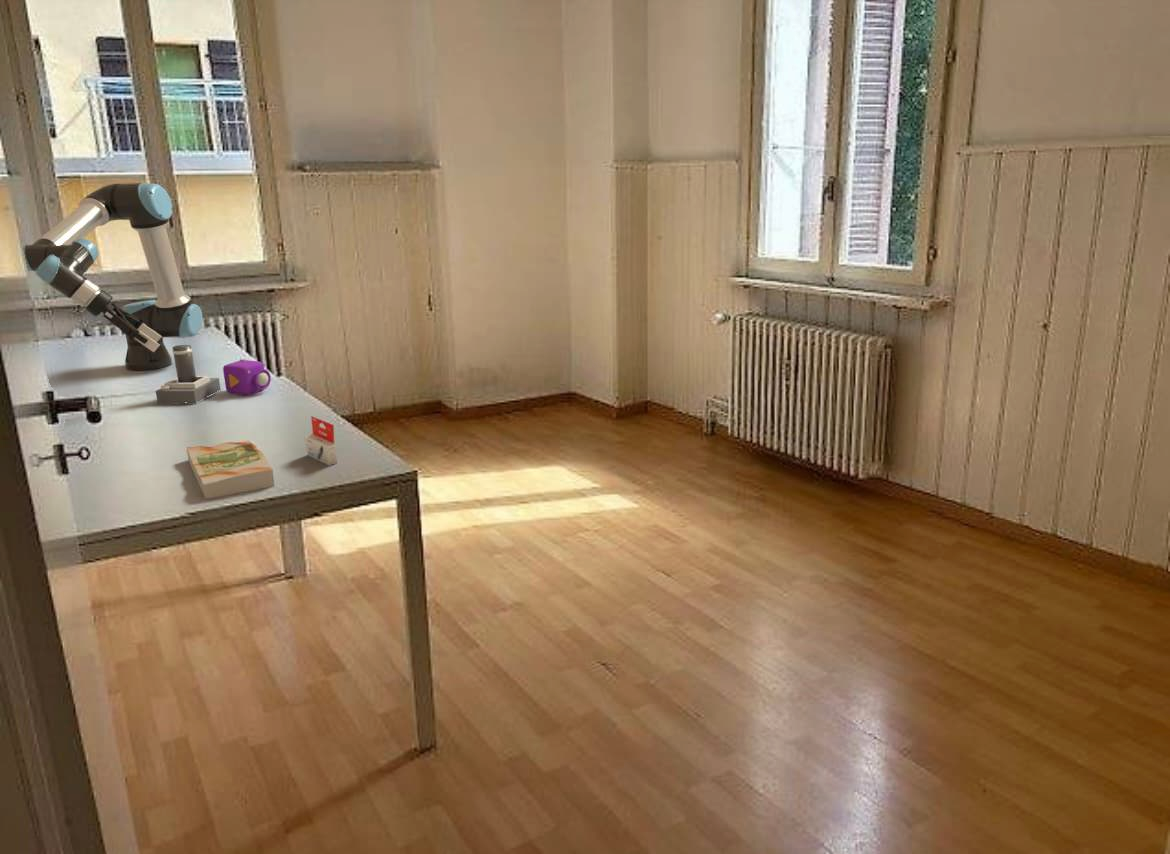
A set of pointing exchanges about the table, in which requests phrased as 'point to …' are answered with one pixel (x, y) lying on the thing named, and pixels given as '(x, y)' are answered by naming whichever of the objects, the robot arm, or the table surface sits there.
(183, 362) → the dark grey cylinder
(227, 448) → the topographic model
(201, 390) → the block
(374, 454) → the table surface
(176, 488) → the table surface
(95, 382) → the table surface
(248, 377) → the toy camera
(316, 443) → the ink cartridge box
